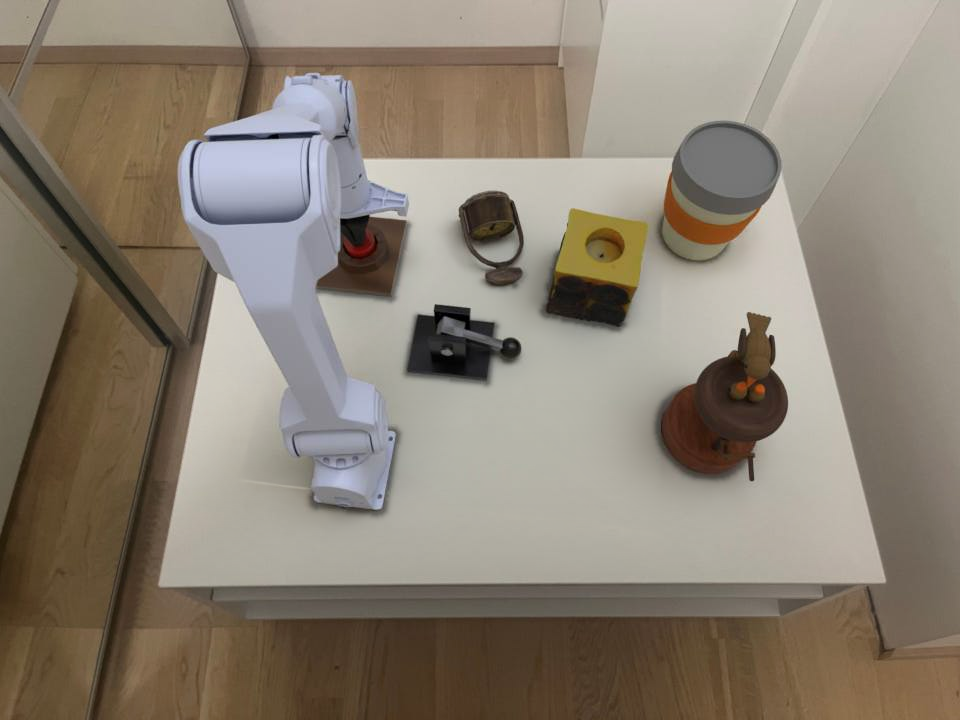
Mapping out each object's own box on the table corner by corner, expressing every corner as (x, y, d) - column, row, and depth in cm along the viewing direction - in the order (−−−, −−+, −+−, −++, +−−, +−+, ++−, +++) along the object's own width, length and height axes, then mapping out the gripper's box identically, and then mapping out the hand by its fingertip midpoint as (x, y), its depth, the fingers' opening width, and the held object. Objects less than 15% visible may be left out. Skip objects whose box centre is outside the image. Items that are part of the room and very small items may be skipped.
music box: (648, 381, 83) (711, 298, 65) (732, 381, 84) (817, 299, 66) (668, 502, 77) (744, 448, 59) (759, 500, 78) (862, 446, 60)
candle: (544, 314, 87) (551, 272, 78) (559, 252, 92) (567, 205, 83) (621, 330, 86) (638, 290, 77) (632, 266, 91) (649, 221, 82)
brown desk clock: (539, 186, 90) (467, 169, 88) (533, 260, 83) (455, 242, 82) (524, 222, 96) (456, 205, 94) (518, 293, 89) (445, 277, 88)
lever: (517, 345, 85) (526, 337, 83) (514, 365, 84) (524, 357, 82) (437, 322, 82) (444, 312, 80) (434, 342, 81) (441, 333, 79)
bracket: (494, 326, 87) (495, 299, 81) (487, 382, 83) (487, 358, 77) (418, 317, 87) (413, 290, 81) (408, 373, 84) (402, 349, 78)
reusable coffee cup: (651, 269, 90) (681, 197, 77) (646, 195, 96) (674, 116, 82) (744, 273, 90) (791, 202, 77) (734, 199, 95) (776, 120, 82)
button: (373, 261, 88) (371, 253, 87) (343, 258, 89) (341, 250, 87) (378, 236, 90) (376, 229, 88) (349, 233, 90) (347, 226, 89)
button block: (391, 298, 89) (389, 286, 86) (318, 290, 89) (313, 278, 86) (407, 225, 94) (405, 211, 91) (337, 218, 94) (333, 204, 92)
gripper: (408, 147, 77) (418, 221, 89) (285, 136, 78) (312, 210, 90) (397, 196, 74) (409, 264, 86) (269, 183, 75) (299, 253, 87)
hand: (359, 240), depth 88 cm, fingers closed, pressing on button
